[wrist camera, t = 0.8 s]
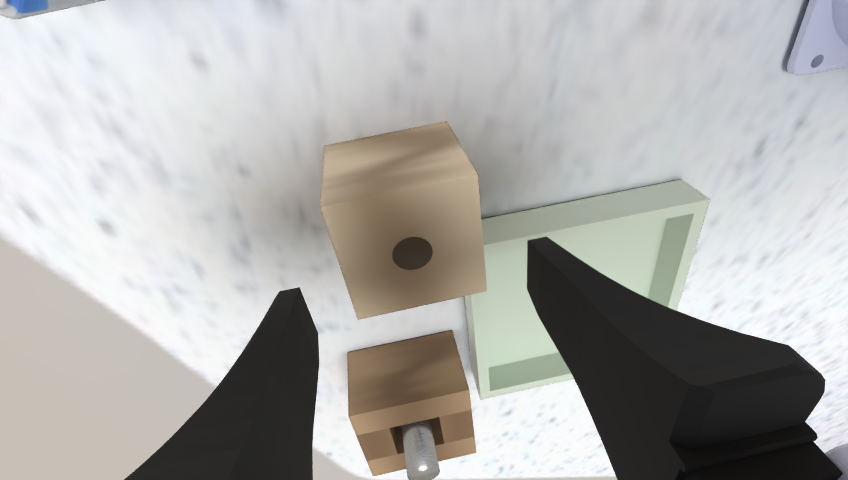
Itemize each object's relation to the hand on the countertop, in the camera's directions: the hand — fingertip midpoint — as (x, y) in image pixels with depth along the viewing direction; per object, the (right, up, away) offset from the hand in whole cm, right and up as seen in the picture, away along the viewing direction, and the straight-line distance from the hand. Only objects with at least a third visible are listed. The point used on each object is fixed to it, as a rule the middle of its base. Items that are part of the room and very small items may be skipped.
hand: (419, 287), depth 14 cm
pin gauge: (-1, -7, +13) cm, 14 cm away
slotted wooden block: (-1, -7, +13) cm, 14 cm away
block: (-1, +4, +5) cm, 7 cm away
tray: (+8, -1, +10) cm, 13 cm away
